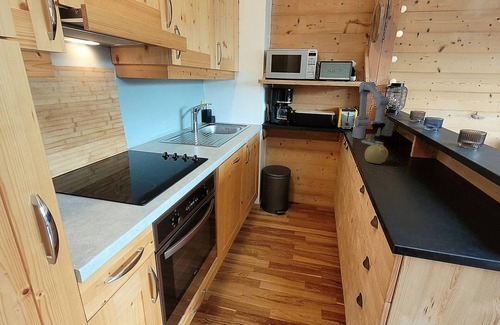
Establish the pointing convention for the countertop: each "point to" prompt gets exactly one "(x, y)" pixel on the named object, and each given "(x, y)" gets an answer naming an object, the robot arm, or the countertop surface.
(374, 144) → the parts tray
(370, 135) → the oak block
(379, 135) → the metal peg
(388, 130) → the skincare box
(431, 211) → the countertop surface
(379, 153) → the pale yellow round ball
